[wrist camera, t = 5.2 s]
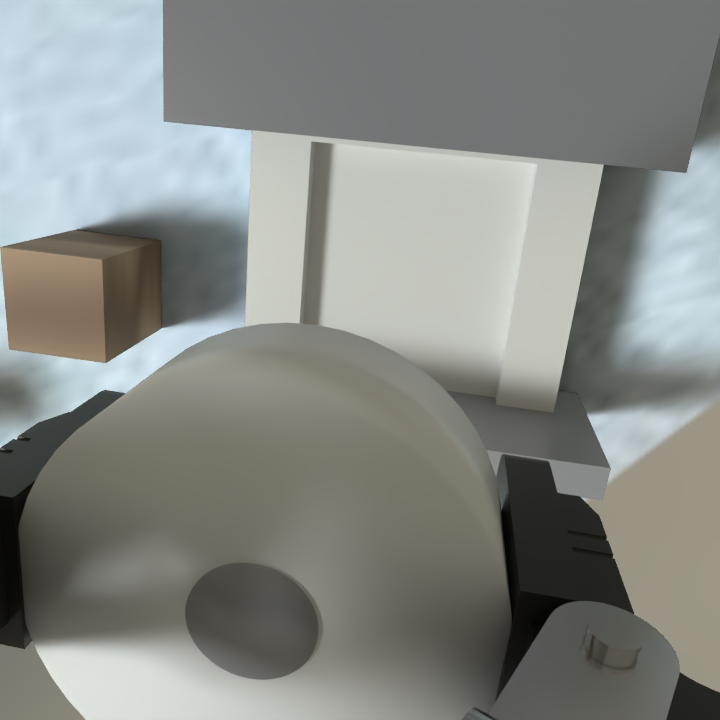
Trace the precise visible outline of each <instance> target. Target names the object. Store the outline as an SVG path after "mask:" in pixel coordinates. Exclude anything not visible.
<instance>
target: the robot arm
mask: <svg viewBox="0 0 720 720" xmlns="http://www.w3.org/2000/svg"><path fill="white" fill-rule="evenodd" d="M124 394H126V393H121V392H114V391H108V390H104V391H101V392H99V393H98V394H97V395H95V396H94V397H92V398H91V399H89V400H88V401H86V402H85V403H83V404H82V405H80V406H79V407H77V408H76V409H75V410H73V411H72V412H68V413H65V414H62V415H59V416H56V417H53V418H51V419H48V420H45V421H42V422H39V423H37V424H36V425H34V426H33V427H31V428H30V429H28V430H27V431H25V432H24V433H22V434H21V435H19V436H18V438H17V440H15V439H13V440H12V441H10V442H9V443H7V444H5V445H4V446H2V447H1V448H0V644H4V645H8V646H13V647H18V648H23V649H25V648H26V647H27V646H28V645H29V643H30V642H31V641H32V638H31V636H30V634H29V631H28V629H27V626H26V622H25V612H24V599H23V586H22V573H21V560H20V547H19V533H18V528H19V522H20V519H21V516H22V512H23V509H24V506H25V503H26V500H27V497H28V495H29V493H30V491H31V489H32V487H33V485H34V483H35V481H36V479H37V477H38V475H39V473H40V471H41V470H42V469H43V467H44V466H45V465H46V463H47V462H48V460H49V459H50V458H51V456H52V455H53V454H54V452H55V451H56V450H57V449H58V448H59V447H60V446H61V445H62V444H63V443H64V442H65V441H66V440H67V439H68V438H69V437H70V436H71V435H72V434H73V433H74V432H75V431H76V430H77V429H79V428H80V427H81V426H83V425H84V424H85V423H87V422H88V421H89V420H91V419H92V418H93V417H95V416H96V415H97V414H99V413H100V412H101V411H103V410H104V409H106V408H107V407H108V406H110V405H111V404H112V403H114V402H115V401H116V400H118V399H119V398H120V397H122V396H123V395H124ZM496 480H497V486H498V491H499V497H500V503H501V513H502V523H503V533H504V543H505V553H506V563H507V573H508V583H509V593H510V603H511V613H512V626H511V631H510V635H509V640H508V644H507V649H506V654H505V658H504V663H503V667H502V672H501V677H500V681H499V686H498V691H497V695H496V700H495V703H494V705H493V707H492V708H491V710H490V711H489V713H488V714H487V713H486V712H484V711H482V710H480V709H479V708H476V707H474V708H472V709H471V710H469V711H468V712H467V714H466V715H465V716H464V717H463V718H462V720H720V693H719V692H717V691H714V690H712V689H710V688H708V687H706V686H703V685H701V684H699V683H697V682H695V681H694V680H692V679H690V678H688V677H686V676H685V675H683V674H682V673H680V665H679V659H678V657H677V655H676V652H675V650H674V649H673V647H672V646H671V644H670V643H669V642H668V640H667V639H666V638H665V637H664V636H663V635H662V634H661V633H660V632H659V631H658V630H657V629H656V628H654V627H653V626H652V625H650V624H649V623H648V622H646V621H644V620H643V619H641V618H640V617H638V616H636V615H634V612H633V609H632V606H631V604H630V601H629V598H628V595H627V592H626V589H625V587H624V584H623V581H622V578H621V575H620V573H619V570H618V567H617V564H616V562H615V559H613V553H612V550H611V547H610V545H609V542H608V541H606V538H607V536H606V534H605V531H604V528H603V525H602V522H601V519H600V517H599V515H598V514H597V513H596V512H595V511H594V510H593V509H592V508H591V507H590V506H589V505H588V504H587V503H586V502H585V501H584V500H583V499H582V498H581V497H580V496H575V495H568V494H562V493H557V489H556V485H555V481H554V477H553V474H552V470H551V466H550V463H549V461H546V460H540V459H533V458H527V457H521V456H514V455H508V454H502V456H501V458H500V462H499V466H498V471H497V476H496Z"/></svg>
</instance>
